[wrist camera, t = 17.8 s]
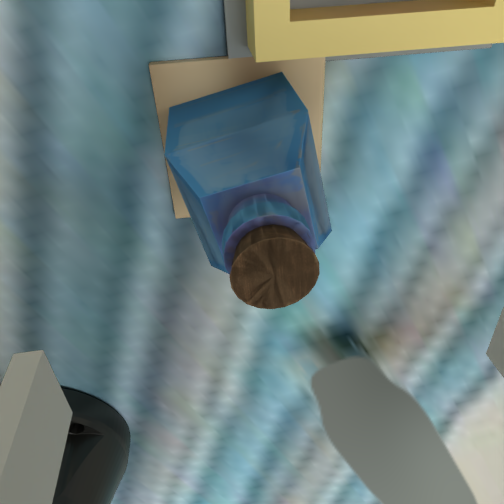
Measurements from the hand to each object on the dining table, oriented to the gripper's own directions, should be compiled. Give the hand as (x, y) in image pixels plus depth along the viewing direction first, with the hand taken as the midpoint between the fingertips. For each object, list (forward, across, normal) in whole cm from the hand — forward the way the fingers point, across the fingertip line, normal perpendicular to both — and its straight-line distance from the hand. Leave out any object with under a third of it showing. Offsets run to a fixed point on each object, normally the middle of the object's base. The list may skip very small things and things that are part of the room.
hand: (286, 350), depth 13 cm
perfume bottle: (+16, 0, 0) cm, 16 cm away
